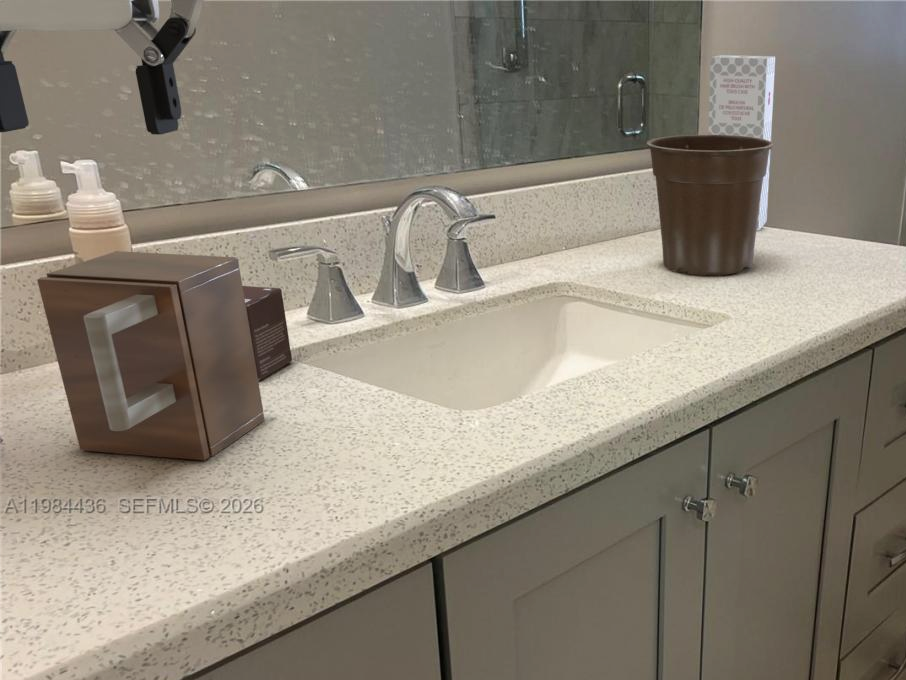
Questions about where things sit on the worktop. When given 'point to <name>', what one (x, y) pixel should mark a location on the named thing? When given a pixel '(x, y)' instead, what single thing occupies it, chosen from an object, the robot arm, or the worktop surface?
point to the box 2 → (743, 104)
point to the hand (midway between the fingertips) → (87, 131)
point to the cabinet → (200, 331)
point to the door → (125, 366)
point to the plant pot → (709, 200)
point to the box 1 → (267, 328)
